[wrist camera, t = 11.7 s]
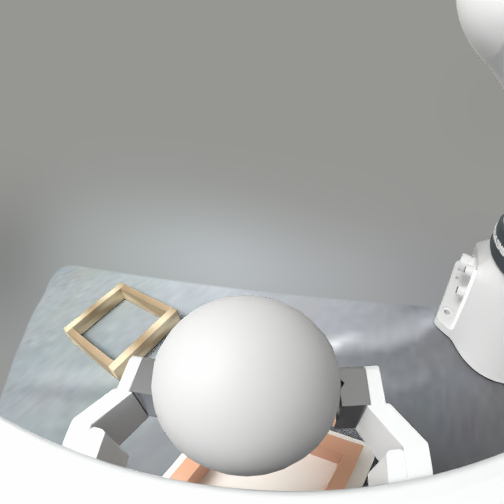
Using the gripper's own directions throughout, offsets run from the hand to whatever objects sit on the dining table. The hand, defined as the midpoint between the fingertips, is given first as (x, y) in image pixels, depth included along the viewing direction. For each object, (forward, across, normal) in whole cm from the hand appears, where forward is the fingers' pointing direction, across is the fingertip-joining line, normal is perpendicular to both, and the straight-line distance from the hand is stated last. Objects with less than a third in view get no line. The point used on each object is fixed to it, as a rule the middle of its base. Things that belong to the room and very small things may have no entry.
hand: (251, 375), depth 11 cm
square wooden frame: (+15, +18, +16) cm, 29 cm away
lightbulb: (-1, 0, +8) cm, 8 cm away
